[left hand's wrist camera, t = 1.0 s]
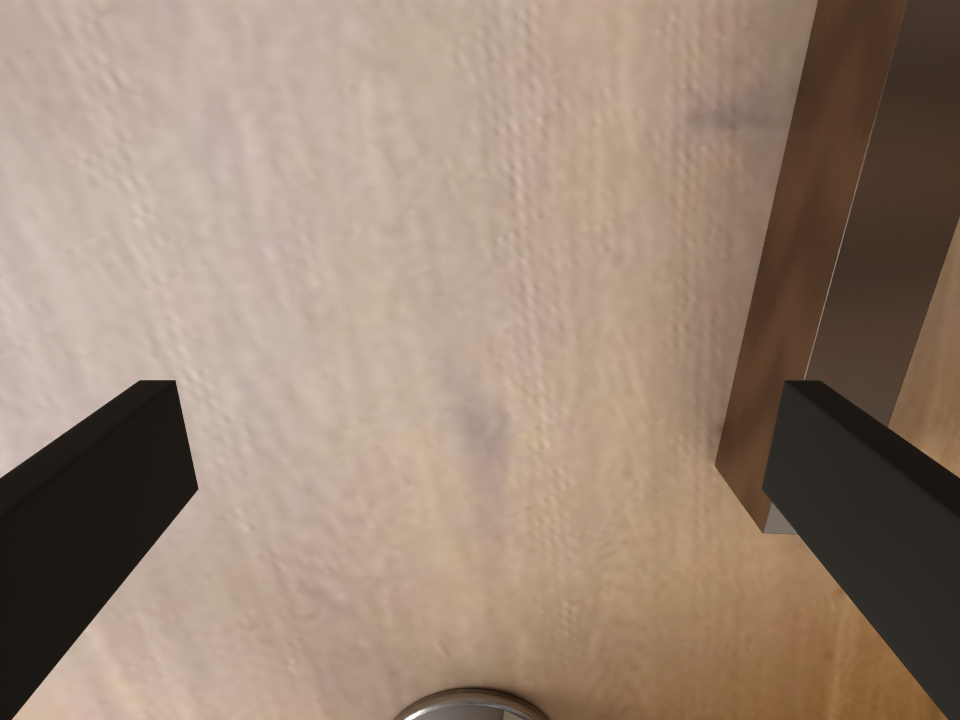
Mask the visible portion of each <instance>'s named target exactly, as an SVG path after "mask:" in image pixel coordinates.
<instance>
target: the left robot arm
mask: <svg viewBox="0 0 960 720" xmlns="http://www.w3.org/2000/svg"><path fill="white" fill-rule="evenodd" d="M197 490H198V485H197V480H196V475H195V471H194V466H193V461H192V456H191V452H190V447H189V442H188V438H187V433H186V428H185V423H184V419H183V414H182V409H181V405H180V400H179V395H178V390H177V386H176V381H175V380H140V381H138V382H137V383H135V384H134V385H132V386H131V387H130V388H128V389H127V390H125V391H124V392H123V393H121V394H120V395H118V396H117V397H115V398H114V399H113V400H111V401H110V402H108V403H107V404H105V405H104V406H103V407H101V408H100V409H98V410H97V411H95V412H94V413H93V414H91V415H90V416H88V417H87V418H85V419H84V420H83V421H81V422H80V423H78V424H77V425H76V426H74V427H73V428H71V429H70V430H68V431H67V432H66V433H64V434H63V435H61V436H60V437H58V438H57V439H56V440H54V441H53V442H51V443H50V444H48V445H47V446H46V447H44V448H43V449H41V450H40V451H39V452H37V453H36V454H34V455H33V456H31V457H30V458H29V459H27V460H26V461H24V462H23V463H21V464H20V465H19V466H17V467H16V468H14V469H13V470H11V471H10V472H9V473H7V474H6V475H4V476H3V477H1V478H0V720H12V719H13V717H14V716H15V715H16V714H17V713H18V711H19V710H20V709H21V708H22V706H23V705H24V704H25V703H26V701H27V700H28V699H29V698H30V696H31V695H32V694H33V693H34V692H35V690H36V689H37V688H38V687H39V685H40V684H41V683H42V682H43V680H44V679H45V678H46V677H47V675H48V674H49V673H50V672H51V671H52V669H53V668H54V667H55V666H56V664H57V663H58V662H59V661H60V659H61V658H62V657H63V656H64V654H65V653H66V652H67V651H68V650H69V648H70V647H71V646H72V645H73V643H74V642H75V641H76V640H77V638H78V637H79V636H80V635H81V634H82V632H83V631H84V630H85V629H86V627H87V626H88V625H89V624H90V622H91V621H92V620H93V619H94V617H95V616H96V615H97V614H98V613H99V611H100V610H101V609H102V608H103V606H104V605H105V604H106V603H107V601H108V600H109V599H110V598H111V596H112V595H113V594H114V593H115V592H116V590H117V589H118V588H119V587H120V585H121V584H122V583H123V582H124V580H125V579H126V578H127V577H128V575H129V574H130V573H131V572H132V571H133V569H134V568H135V567H136V566H137V564H138V563H139V562H140V561H141V559H142V558H143V557H144V556H145V554H146V553H147V552H148V551H149V550H150V548H151V547H152V546H153V545H154V543H155V542H156V541H157V540H158V538H159V537H160V536H161V535H162V533H163V532H164V531H165V530H166V529H167V527H168V526H169V525H170V524H171V522H172V521H173V520H174V519H175V517H176V516H177V515H178V514H179V512H180V511H181V510H182V509H183V508H184V506H185V505H186V504H187V503H188V501H189V500H190V499H191V498H192V496H193V495H194V494H195V493H196V491H197ZM762 490H763V491H764V493H765V494H766V495H767V496H768V498H769V499H770V500H771V501H772V503H773V504H774V505H775V506H776V508H777V509H778V510H779V511H780V512H781V514H782V515H783V516H784V517H785V519H786V520H787V521H788V522H789V524H790V525H791V526H792V527H793V529H794V530H795V531H796V532H797V533H798V535H799V536H800V537H801V538H802V540H803V541H804V542H805V543H806V545H807V546H808V547H809V548H810V550H811V551H812V552H813V553H814V554H815V556H816V557H817V558H818V559H819V561H820V562H821V563H822V564H823V566H824V567H825V568H826V569H827V571H828V572H829V573H830V574H831V575H832V577H833V578H834V579H835V580H836V582H837V583H838V584H839V585H840V587H841V588H842V589H843V590H844V592H845V593H846V594H847V595H848V596H849V598H850V599H851V600H852V601H853V603H854V604H855V605H856V606H857V608H858V609H859V610H860V611H861V613H862V614H863V615H864V616H865V617H866V619H867V620H868V621H869V622H870V624H871V625H872V626H873V627H874V629H875V630H876V631H877V632H878V634H879V635H880V636H881V637H882V638H883V640H884V641H885V642H886V643H887V645H888V646H889V647H890V648H891V650H892V651H893V652H894V653H895V654H896V656H897V657H898V658H899V659H900V661H901V662H902V663H903V664H904V666H905V667H906V668H907V669H908V671H909V672H910V673H911V674H912V675H913V677H914V678H915V679H916V680H917V682H918V683H919V684H920V685H921V687H922V688H923V689H924V690H925V692H926V693H927V694H928V695H929V696H930V698H931V699H932V700H933V701H934V703H935V704H936V705H937V706H938V708H939V709H940V710H941V711H942V713H943V714H944V715H945V716H946V717H947V719H948V720H960V478H959V477H957V476H956V475H954V474H953V473H951V472H950V471H949V470H947V469H946V468H944V467H943V466H941V465H940V464H939V463H937V462H936V461H934V460H933V459H931V458H930V457H929V456H927V455H926V454H924V453H923V452H921V451H920V450H919V449H917V448H916V447H914V446H913V445H912V444H910V443H909V442H907V441H906V440H904V439H903V438H902V437H900V436H899V435H897V434H896V433H894V432H893V431H892V430H890V429H889V428H887V427H886V426H884V425H883V424H882V423H880V422H879V421H877V420H876V419H875V418H873V417H872V416H870V415H869V414H867V413H866V412H865V411H863V410H862V409H860V408H859V407H857V406H856V405H855V404H853V403H852V402H850V401H849V400H847V399H846V398H845V397H843V396H842V395H840V394H839V393H837V392H836V391H835V390H833V389H832V388H830V387H829V386H828V385H826V384H825V383H823V382H822V381H820V380H785V381H784V386H783V390H782V395H781V400H780V405H779V409H778V414H777V419H776V423H775V428H774V433H773V438H772V442H771V447H770V452H769V456H768V461H767V466H766V471H765V475H764V480H763V485H762ZM393 720H548V719H547V718H546V717H545V716H544V715H543V714H542V713H541V712H540V711H539V710H537V709H536V708H535V707H533V706H532V705H530V704H528V703H527V702H525V701H523V700H521V699H519V698H516V697H513V696H511V695H507V694H504V693H500V692H496V691H490V690H481V689H460V690H451V691H445V692H441V693H437V694H434V695H430V696H428V697H425V698H423V699H420V700H418V701H416V702H414V703H413V704H411V705H410V706H408V707H407V708H405V709H404V710H403V711H401V712H400V713H399V714H398V715H397V716H396V717H395V718H394V719H393Z"/></svg>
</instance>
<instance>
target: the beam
mask: <svg viewBox="0 0 960 720" xmlns="http://www.w3.org/2000/svg"><path fill="white" fill-rule="evenodd" d="M959 217H960V0H818V5H817V9H816V14H815V18H814V23H813V27H812V32H811V36H810V41H809V45H808V50H807V54H806V59H805V63H804V68H803V72H802V77H801V81H800V86H799V90H798V95H797V99H796V103H795V108H794V112H793V117H792V121H791V126H790V130H789V135H788V139H787V144H786V148H785V153H784V157H783V162H782V166H781V171H780V175H779V180H778V184H777V189H776V193H775V198H774V202H773V207H772V211H771V216H770V220H769V225H768V229H767V234H766V238H765V243H764V247H763V252H762V256H761V261H760V265H759V270H758V274H757V279H756V283H755V288H754V292H753V297H752V301H751V306H750V310H749V315H748V319H747V324H746V328H745V333H744V337H743V342H742V346H741V351H740V355H739V360H738V364H737V369H736V373H735V378H734V382H733V387H732V391H731V396H730V400H729V405H728V409H727V414H726V418H725V423H724V427H723V432H722V436H721V441H720V445H719V450H718V454H717V459H716V463H715V467H716V468H717V470H718V471H719V473H720V474H721V475H722V477H723V478H724V480H725V481H726V482H727V484H728V485H729V487H730V488H731V490H732V491H733V492H734V494H735V495H736V497H737V498H738V499H739V501H740V502H741V504H742V505H743V506H744V508H745V509H746V511H747V512H748V513H749V515H750V516H751V518H752V519H753V520H754V522H755V523H756V525H757V526H758V527H759V529H760V530H761V532H762V533H772V534H798V533H797V532H796V531H795V530H794V529H793V527H792V526H791V525H790V524H789V522H788V521H787V520H786V519H785V517H784V516H783V515H782V514H781V512H780V511H779V510H778V509H777V508H776V506H775V505H774V504H773V503H772V501H771V500H770V499H769V498H768V496H767V495H766V494H765V493H764V491H763V490H762V485H763V480H764V475H765V471H766V466H767V461H768V456H769V452H770V447H771V442H772V438H773V433H774V428H775V423H776V419H777V414H778V409H779V405H780V400H781V395H782V390H783V386H784V381H785V380H820V381H822V382H823V383H825V384H826V385H828V386H829V387H830V388H832V389H833V390H835V391H836V392H837V393H839V394H840V395H842V396H843V397H845V398H846V399H847V400H849V401H850V402H852V403H853V404H855V405H856V406H857V407H859V408H860V409H862V410H863V411H865V412H866V413H867V414H869V415H870V416H872V417H873V418H875V419H876V420H877V421H879V422H880V423H882V424H883V425H884V426H886V427H888V424H889V421H890V418H891V415H892V412H893V409H894V406H895V404H896V401H897V398H898V395H899V392H900V389H901V386H902V383H903V380H904V377H905V374H906V371H907V368H908V366H909V363H910V360H911V357H912V354H913V351H914V348H915V345H916V342H917V339H918V336H919V333H920V331H921V328H922V325H923V322H924V319H925V316H926V313H927V310H928V307H929V304H930V301H931V298H932V295H933V293H934V290H935V287H936V284H937V281H938V278H939V275H940V272H941V269H942V266H943V263H944V260H945V257H946V255H947V252H948V249H949V246H950V243H951V240H952V237H953V234H954V231H955V228H956V225H957V222H958V220H959Z"/></svg>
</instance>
